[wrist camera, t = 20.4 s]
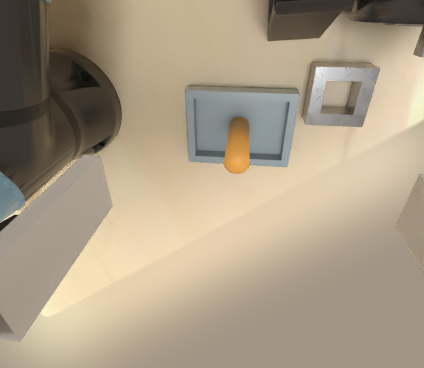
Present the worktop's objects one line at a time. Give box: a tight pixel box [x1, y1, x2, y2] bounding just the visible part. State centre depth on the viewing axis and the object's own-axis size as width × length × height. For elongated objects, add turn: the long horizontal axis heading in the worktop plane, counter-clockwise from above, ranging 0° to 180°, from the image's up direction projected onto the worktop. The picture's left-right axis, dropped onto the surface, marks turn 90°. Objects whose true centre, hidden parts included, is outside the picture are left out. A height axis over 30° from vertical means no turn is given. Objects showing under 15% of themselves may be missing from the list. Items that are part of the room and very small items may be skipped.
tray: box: [185, 86, 300, 167], centre depth 40 cm, size 14×10×2 cm
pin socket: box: [302, 62, 380, 127], centre depth 35 cm, size 7×7×3 cm
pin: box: [224, 117, 250, 174], centre depth 36 cm, size 3×3×11 cm
